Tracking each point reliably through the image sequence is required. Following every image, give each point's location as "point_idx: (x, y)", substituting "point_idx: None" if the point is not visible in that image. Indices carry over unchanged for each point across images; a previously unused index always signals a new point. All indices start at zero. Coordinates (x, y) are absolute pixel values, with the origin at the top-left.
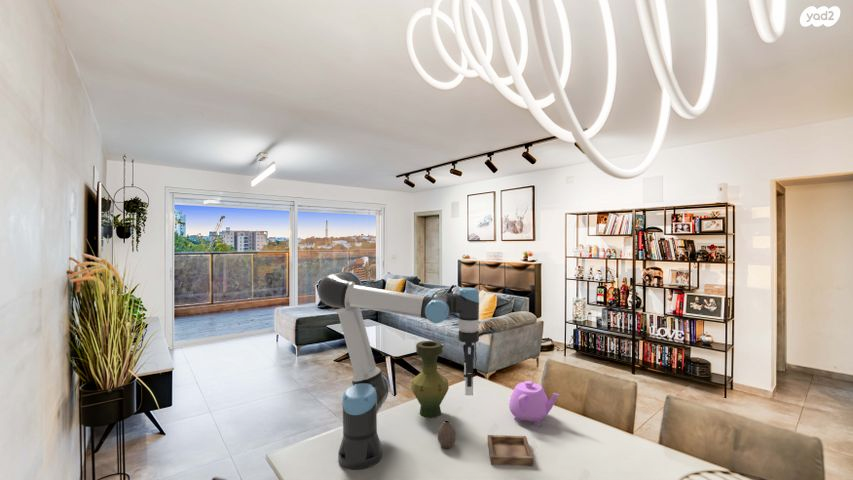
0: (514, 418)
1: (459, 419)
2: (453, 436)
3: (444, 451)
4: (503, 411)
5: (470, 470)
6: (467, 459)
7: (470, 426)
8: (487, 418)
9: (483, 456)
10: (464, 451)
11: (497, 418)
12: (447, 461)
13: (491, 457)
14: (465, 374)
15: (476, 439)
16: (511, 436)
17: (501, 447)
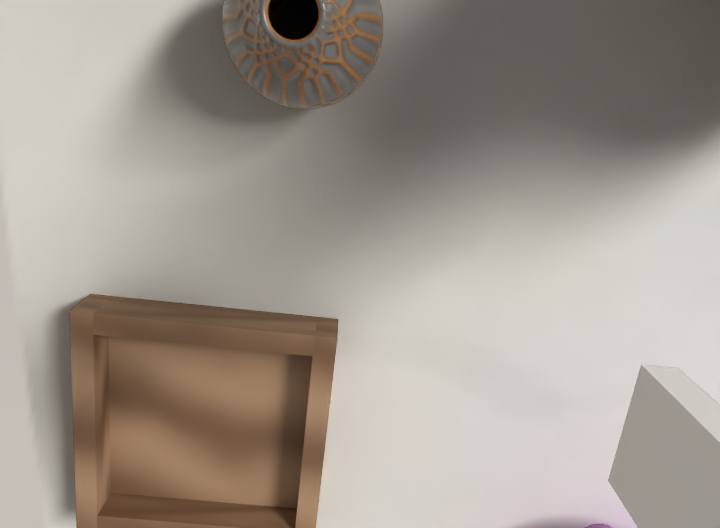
0: (606, 525)
1: (671, 172)
2: (244, 79)
3: None
4: None
5: (19, 164)
6: (136, 161)
7: (552, 240)
8: None
9: (174, 266)
10: (229, 154)
11: None
12: (104, 19)
13: (72, 313)
14: (705, 464)
15: (374, 254)
16: (311, 474)
17: (252, 387)
